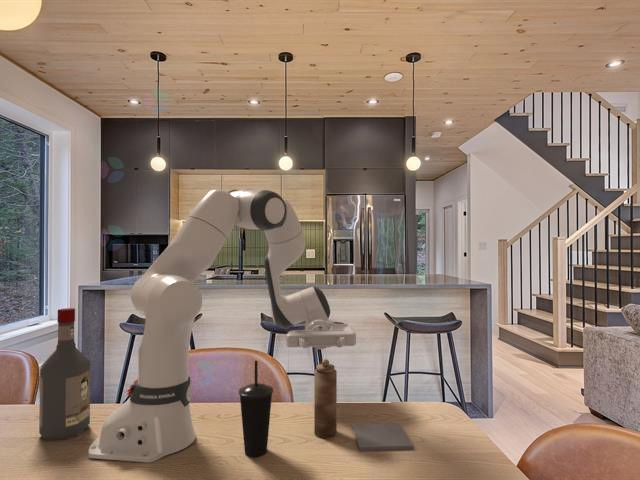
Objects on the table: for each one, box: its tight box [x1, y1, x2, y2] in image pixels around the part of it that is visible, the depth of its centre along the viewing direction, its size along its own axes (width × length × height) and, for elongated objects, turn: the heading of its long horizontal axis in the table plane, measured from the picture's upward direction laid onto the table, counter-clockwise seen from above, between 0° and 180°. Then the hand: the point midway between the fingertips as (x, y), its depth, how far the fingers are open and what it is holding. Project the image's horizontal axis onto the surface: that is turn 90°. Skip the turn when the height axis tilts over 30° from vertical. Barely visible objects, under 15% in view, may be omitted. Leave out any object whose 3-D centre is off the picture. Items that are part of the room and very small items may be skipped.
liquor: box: [38, 307, 91, 440], centre depth 100 cm, size 9×9×30 cm
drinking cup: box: [238, 360, 274, 458], centre depth 90 cm, size 8×8×20 cm
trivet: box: [351, 422, 414, 452], centre depth 96 cm, size 12×12×1 cm
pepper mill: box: [313, 358, 338, 439], centre depth 99 cm, size 5×5×18 cm
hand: (322, 344), depth 111 cm, fingers open, 8 cm apart
